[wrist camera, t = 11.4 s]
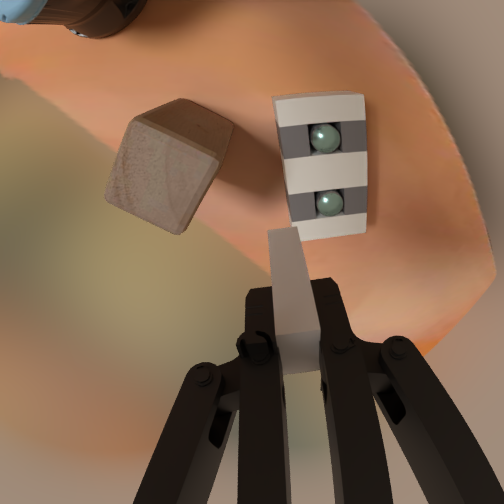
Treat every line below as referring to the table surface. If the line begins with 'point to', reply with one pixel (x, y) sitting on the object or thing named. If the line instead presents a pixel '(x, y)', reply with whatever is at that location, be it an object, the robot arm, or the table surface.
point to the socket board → (323, 161)
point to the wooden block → (168, 163)
